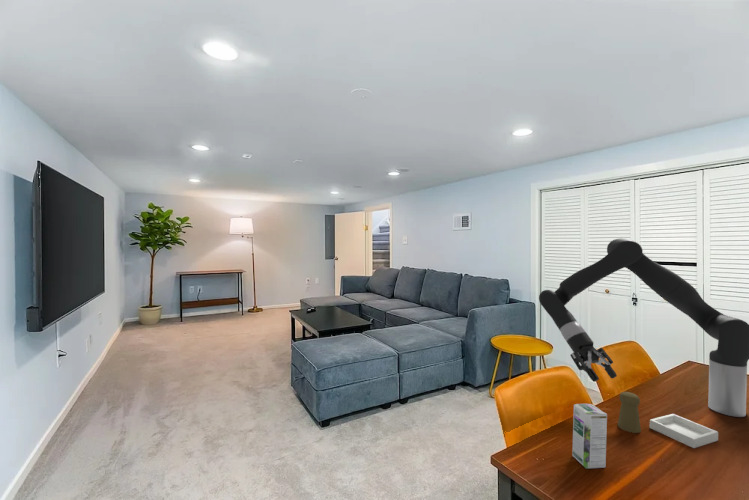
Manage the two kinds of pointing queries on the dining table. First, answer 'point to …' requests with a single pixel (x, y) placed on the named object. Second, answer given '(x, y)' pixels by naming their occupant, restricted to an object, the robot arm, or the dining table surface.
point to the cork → (629, 413)
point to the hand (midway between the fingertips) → (605, 379)
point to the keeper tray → (684, 430)
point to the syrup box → (589, 436)
